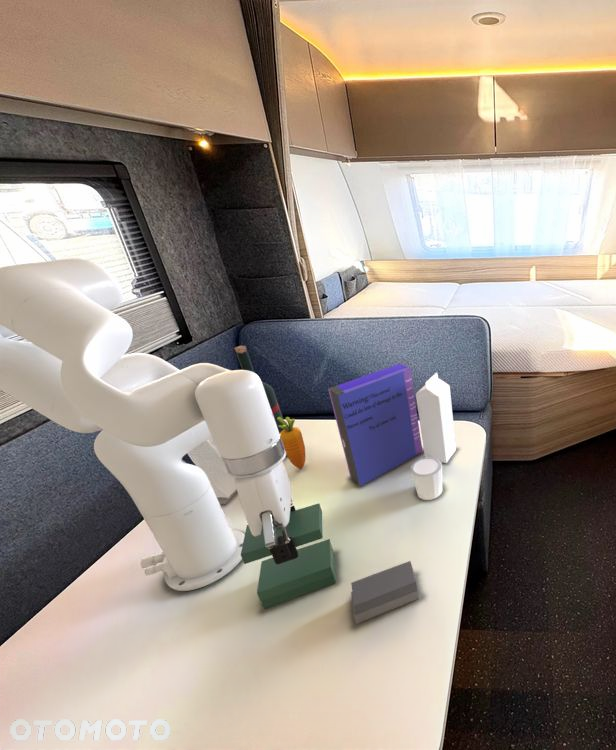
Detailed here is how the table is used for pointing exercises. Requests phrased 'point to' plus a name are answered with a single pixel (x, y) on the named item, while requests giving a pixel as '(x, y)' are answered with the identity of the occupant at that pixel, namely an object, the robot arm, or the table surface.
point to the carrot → (292, 442)
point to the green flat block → (300, 527)
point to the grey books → (383, 592)
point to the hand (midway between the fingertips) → (288, 542)
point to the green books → (297, 574)
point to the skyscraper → (214, 470)
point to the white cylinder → (427, 477)
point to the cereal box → (377, 422)
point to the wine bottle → (269, 391)
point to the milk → (436, 419)
